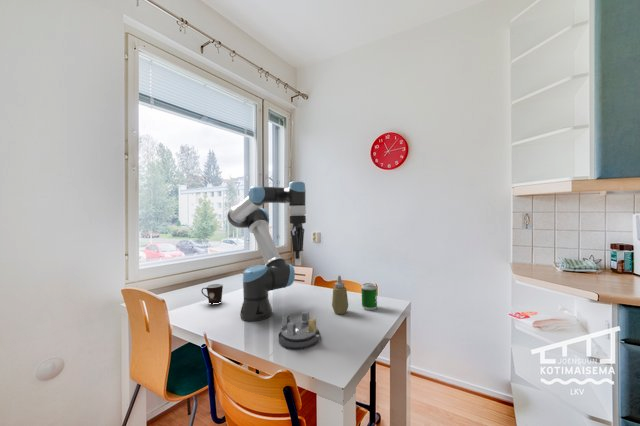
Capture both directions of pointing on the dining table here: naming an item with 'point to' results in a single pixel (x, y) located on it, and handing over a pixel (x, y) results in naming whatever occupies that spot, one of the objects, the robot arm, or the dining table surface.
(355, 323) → the dining table surface
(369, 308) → the soda can
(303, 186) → the robot arm
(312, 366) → the dining table surface
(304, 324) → the four-lug metal disc
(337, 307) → the squeeze bottle
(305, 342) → the mounting flange
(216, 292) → the coffee mug
